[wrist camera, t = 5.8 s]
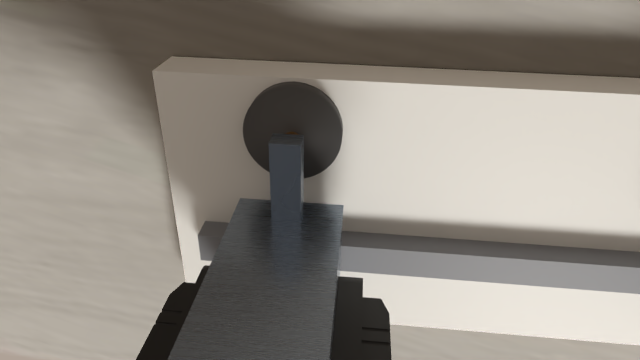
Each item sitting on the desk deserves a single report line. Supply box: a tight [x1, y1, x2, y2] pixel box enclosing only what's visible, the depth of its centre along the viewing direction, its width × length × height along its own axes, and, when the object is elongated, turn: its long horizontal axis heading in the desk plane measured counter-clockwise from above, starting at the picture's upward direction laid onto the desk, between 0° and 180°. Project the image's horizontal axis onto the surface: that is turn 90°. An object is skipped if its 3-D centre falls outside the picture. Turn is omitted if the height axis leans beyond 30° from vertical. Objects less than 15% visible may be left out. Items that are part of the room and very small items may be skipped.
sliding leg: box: [168, 132, 344, 360], centre depth 11 cm, size 3×7×8 cm, turn 179°
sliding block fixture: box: [152, 56, 640, 345], centre depth 13 cm, size 22×9×8 cm, turn 89°
